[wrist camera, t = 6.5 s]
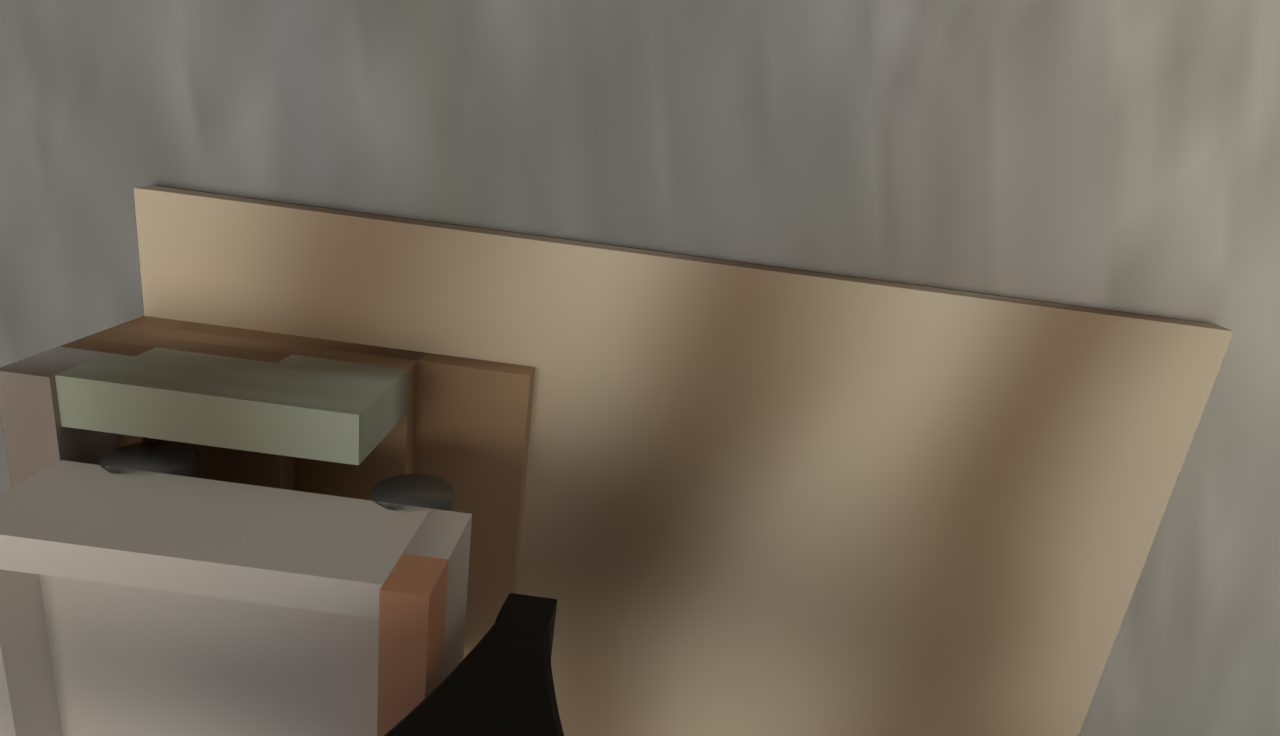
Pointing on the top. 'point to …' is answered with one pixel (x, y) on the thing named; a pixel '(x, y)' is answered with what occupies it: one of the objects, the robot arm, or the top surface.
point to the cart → (222, 601)
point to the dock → (673, 454)
